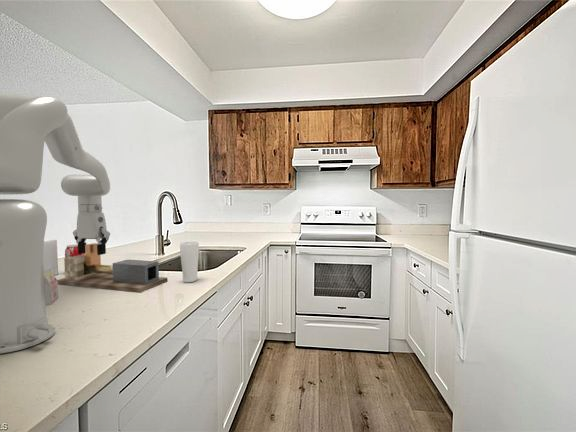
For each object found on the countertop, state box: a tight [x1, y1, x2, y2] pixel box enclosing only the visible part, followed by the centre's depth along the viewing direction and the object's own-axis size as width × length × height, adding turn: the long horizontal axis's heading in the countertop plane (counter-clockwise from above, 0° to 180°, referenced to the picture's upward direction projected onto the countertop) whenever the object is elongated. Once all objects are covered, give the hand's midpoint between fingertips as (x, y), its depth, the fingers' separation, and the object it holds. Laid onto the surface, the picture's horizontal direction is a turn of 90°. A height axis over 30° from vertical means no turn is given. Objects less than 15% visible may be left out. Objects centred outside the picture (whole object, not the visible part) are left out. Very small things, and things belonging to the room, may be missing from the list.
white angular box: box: [44, 268, 59, 306], centre depth 90 cm, size 4×7×10 cm, turn 24°
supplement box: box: [43, 238, 59, 276], centre depth 120 cm, size 9×9×15 cm
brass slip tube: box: [84, 242, 113, 274], centre depth 111 cm, size 22×4×11 cm, turn 75°
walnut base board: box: [57, 273, 168, 294], centre depth 110 cm, size 38×14×2 cm, turn 75°
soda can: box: [64, 243, 86, 258], centre depth 125 cm, size 7×7×12 cm
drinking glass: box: [179, 241, 200, 283], centre depth 113 cm, size 7×7×15 cm
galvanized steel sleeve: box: [112, 259, 160, 285], centre depth 107 cm, size 14×7×7 cm, turn 75°
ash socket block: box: [63, 253, 102, 280], centre depth 114 cm, size 6×10×8 cm, turn 165°
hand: (91, 253), depth 112 cm, fingers open, 9 cm apart
